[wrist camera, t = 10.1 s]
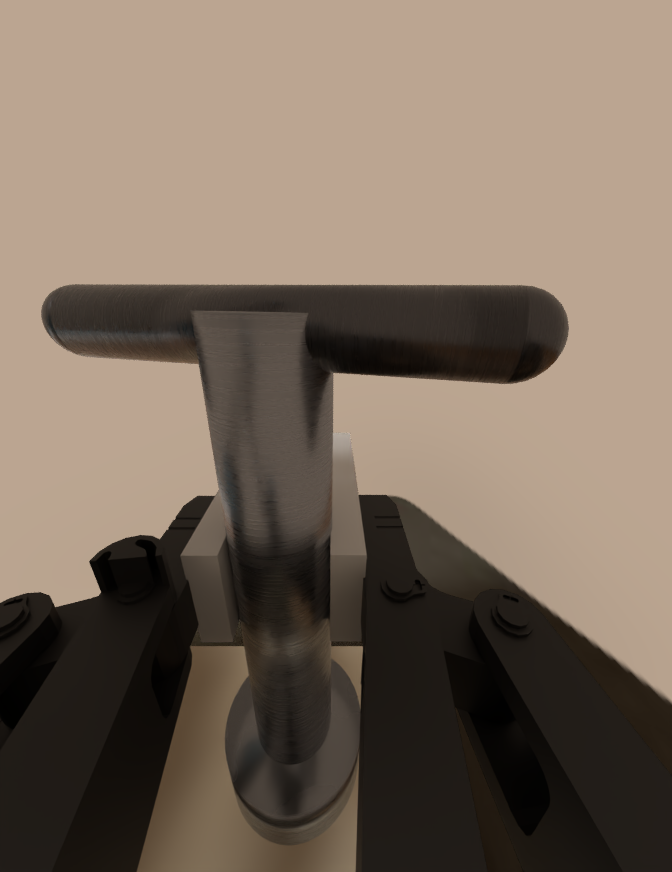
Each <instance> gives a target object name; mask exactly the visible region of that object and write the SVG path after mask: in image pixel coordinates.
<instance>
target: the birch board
mask: <svg viewBox="0 0 672 872" xmlns="http://www.w3.org/2000/svg"><path fill="white" fill-rule="evenodd" d="M190 648H191V652H192V666H191V670H190V673H189V677H188V681H187V685H186V689H185V692H184V696H183V700H182V704H181V707H180V711H179V715H178V719H177V722H176V726H175V730H174V734H173V737H172V741H171V745H170V749H169V752H168V756H167V760H166V764H165V767H164V771H163V775H162V779H161V783H160V786H159V790H158V794H157V798H156V801H155V805H154V809H153V813H152V816H151V820H150V824H149V828H148V831H147V835H146V839H145V843H144V846H143V850H142V854H141V858H140V861H139V865H138V869H137V872H356V841H357V808H358V775H359V761H358V770H357V776H356V780H355V784H354V787H353V790H352V793H351V795H350V798H349V800H348V802H347V804H346V806H345V808H344V809H343V811H342V813H341V814H340V815H339V817H338V818H337V819H336V821H335V822H334V823H333V824H332V825H331V826H330V827H329V828H328V829H327V830H326V831H325V832H323V833H322V834H321V835H319V836H318V837H316V838H314V839H312V840H310V841H308V842H305V843H302V844H298V845H290V846H289V845H279V844H276V843H273V842H270V841H268V840H266V839H264V838H262V837H261V836H260V835H259V834H257V833H256V832H255V831H254V830H253V829H252V828H251V827H250V825H249V824H248V823H247V821H246V820H245V818H244V816H243V815H242V813H241V811H240V808H239V806H238V803H237V800H236V796H235V793H234V789H233V785H232V780H231V776H230V772H229V768H228V764H227V760H226V753H225V730H226V724H227V718H228V715H229V711H230V708H231V705H232V703H233V700H234V698H235V696H236V694H237V692H238V690H239V688H240V687H241V685H242V684H243V682H244V681H245V679H246V678H247V677H248V676H249V674H248V668H247V662H246V655H245V649H244V646H190ZM362 654H363V646H331V659H333V660H334V661H336V662H337V663H338V664H339V665H340V666H341V667H342V668H343V669H344V671H345V672H346V673H347V675H348V676H349V678H350V679H351V681H352V683H353V685H354V688H355V690H356V693H357V696H358V700H359V704H360V709H361V669H362Z"/></svg>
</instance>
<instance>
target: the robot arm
mask: <svg viewBox="0 0 672 872" xmlns="http://www.w3.org/2000/svg"><path fill="white" fill-rule="evenodd" d="M89 562H90V565H91V567H92V570H93V572H94V575H95V577H96V580H97V583H98V585H99V588H100V590H101V594H100V595H99V596H97V597H94V598H91V599H87V600H83V601H79V602H75V603H71V604H67V605H63V606H59V607H55V606H54V604H53V602H52V600H51V598H50V596H49V595H46V594H43V593H41V592H39V593H26V594H23V595H19V596H16V597H13V598H10V599H7V600H6V601H3V602H2V603H0V872H137V869H138V865H139V861H140V858H141V854H142V850H143V846H144V843H145V839H146V835H147V831H148V828H149V824H150V820H151V816H152V813H153V809H154V805H155V801H156V798H157V794H158V790H159V786H160V783H161V779H162V775H163V771H164V767H165V764H166V760H167V756H168V752H169V749H170V745H171V741H172V737H173V734H174V730H175V726H176V722H177V719H178V715H179V711H180V707H181V704H182V700H183V696H184V692H185V689H186V685H187V681H188V677H189V673H190V670H191V666H192V652H191V648H190V645H191V642H192V640H193V637H194V635H195V633H196V630H197V628H198V631H199V635H200V640H201V642H233V640H234V636H235V633H236V629H237V626H238V622H239V619H240V618H239V612H238V605H237V599H236V593H235V587H234V580H233V574H232V568H231V562H230V555H229V549H228V543H227V537H226V530H225V524H224V518H223V512H222V505H221V499H220V493H219V490H218V492H217V494H216V496H197V497H195V498H194V499H193V500H191V501H190V502H189V503H187V504H186V505H184V506H183V508H182V509H181V511H180V512H179V513H178V515H177V516H176V519H175V520H174V521H173V522H172V523H171V525H170V526H169V529H168V530H166V532H165V533H164V535H163V536H162V537H161V539H157V538H155V537H153V536H145V535H139V536H135V537H129V538H125V539H122V540H120V541H117V542H115V543H112V544H111V545H109V546H107V547H106V548H104V549H103V550H101V551H99V553H97V554H96V555H95V556H94V557H93V558H92V559H91V560H90V561H89ZM361 637H362V644H363V654H362V669H361V709H360V742H359V775H358V808H357V841H356V872H488V871H487V866H486V861H485V856H484V851H483V846H482V841H481V836H480V831H479V826H478V821H477V816H476V811H475V806H474V801H473V796H472V791H471V786H470V781H469V776H468V771H467V766H466V761H465V756H464V751H463V746H462V741H461V736H460V731H459V726H458V721H457V716H456V711H455V707H456V708H457V710H458V712H459V715H460V717H461V720H462V722H463V725H464V727H465V729H466V732H467V734H468V737H469V739H470V742H471V744H472V747H473V749H474V752H475V754H476V756H477V759H478V761H479V764H480V766H481V769H482V771H483V774H484V776H485V779H486V781H487V783H488V786H489V788H490V791H491V793H492V796H493V798H494V801H495V803H496V806H497V808H498V810H499V813H500V815H501V818H502V820H503V823H504V825H505V828H506V830H507V833H508V835H509V837H510V840H511V842H512V845H513V847H514V850H515V852H516V855H517V857H518V860H519V862H520V864H521V867H522V869H523V872H672V775H671V774H670V773H669V771H668V770H667V769H666V768H665V766H664V765H663V764H662V763H661V761H660V760H659V759H658V758H657V756H656V755H655V754H654V753H653V751H652V750H651V749H650V748H649V746H648V745H647V744H646V743H645V741H644V740H643V739H642V738H641V736H640V735H639V734H638V733H637V731H636V730H635V729H634V728H633V726H632V725H631V724H630V723H629V721H628V720H627V719H626V718H625V716H624V715H623V714H622V713H621V711H620V710H619V709H618V708H617V706H616V705H615V704H614V703H613V701H612V700H611V699H610V698H609V696H608V695H607V694H606V693H605V691H604V690H603V689H602V688H601V686H600V685H599V684H598V683H597V681H596V680H595V679H594V678H593V676H592V675H591V674H590V673H589V671H588V670H587V669H586V668H585V666H584V665H583V664H582V663H581V661H580V660H579V659H578V658H577V656H576V655H575V654H574V653H573V651H572V650H571V649H570V648H569V646H568V645H567V644H566V643H565V641H564V640H563V639H562V638H561V636H560V635H559V634H558V633H557V631H556V630H555V629H554V628H553V626H552V625H551V624H550V623H549V621H548V620H547V619H546V618H545V616H544V615H543V614H542V613H541V612H540V611H539V610H538V609H537V608H536V607H535V606H534V605H533V604H532V603H530V602H529V601H527V600H526V599H524V598H522V597H521V596H519V595H517V594H514V593H511V592H508V591H506V590H498V589H490V590H486V591H483V592H481V593H480V594H479V595H478V596H477V597H476V599H475V600H474V602H473V601H469V600H466V599H462V598H458V597H455V596H451V595H448V594H446V593H443V592H440V591H439V590H437V589H435V588H433V587H432V586H430V585H429V584H428V582H427V580H426V579H425V578H424V577H423V576H422V575H421V574H420V573H419V572H418V571H417V569H416V567H415V563H414V560H413V557H412V554H411V551H410V547H409V544H408V541H407V538H406V535H405V532H404V529H403V525H402V522H401V519H400V516H399V512H398V509H397V506H396V504H395V503H394V502H393V501H392V500H391V499H390V498H389V497H388V496H387V495H358V488H357V481H356V473H355V467H354V459H353V452H352V445H351V437H350V433H333V486H332V531H331V534H330V642H346V641H361Z"/></svg>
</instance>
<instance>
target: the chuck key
mask: <svg viewBox="0 0 672 872" xmlns="http://www.w3.org/2000/svg"><path fill="white" fill-rule="evenodd" d="M41 313H42V314H41V315H42V321H43V324H44V327H45V329H46V331H47V332H48V334H49V335H50V336H51V338H52V339H53V340H54V341H55V342H56V343H57V344H59V345H60V346H61V347H63V348H64V349H66V350H68V351H70V352H72V353H75V354H78V355H81V356H87V357H98V358H115V359H129V360H144V361H160V362H175V363H191V364H199V367H200V374H201V380H202V386H203V393H204V399H205V405H206V411H207V418H208V424H209V430H210V437H211V443H212V449H213V455H214V461H215V468H216V474H217V480H218V487H219V493H220V499H221V505H222V512H223V518H224V524H225V530H226V537H227V543H228V549H229V555H230V562H231V568H232V574H233V580H234V587H235V593H236V599H237V605H238V612H239V618H240V624H241V630H242V637H243V643H244V649H245V655H246V662H247V668H248V674H249V676H248V677H247V678H246V679H245V681H244V682H243V684H242V685H241V687H240V688H239V690H238V692H237V694H236V696H235V698H234V700H233V703H232V705H231V708H230V711H229V715H228V718H227V724H226V730H225V753H226V760H227V764H228V768H229V772H230V776H231V780H232V785H233V789H234V793H235V796H236V800H237V803H238V806H239V808H240V811H241V813H242V815H243V816H244V818H245V820H246V821H247V823H248V824H249V825H250V827H251V828H252V829H253V830H254V831H255V832H256V833H257V834H259V835H260V836H261V837H262V838H264V839H266V840H268V841H270V842H273V843H276V844H279V845H289V846H290V845H298V844H302V843H305V842H308V841H310V840H312V839H314V838H316V837H318V836H319V835H321V834H322V833H323V832H325V831H326V830H327V829H328V828H329V827H330V826H331V825H332V824H333V823H334V822H335V821H336V819H337V818H338V817H339V815H340V814H341V813H342V811H343V809H344V808H345V806H346V804H347V802H348V800H349V798H350V795H351V793H352V790H353V787H354V784H355V780H356V776H357V770H358V761H359V742H360V704H359V700H358V696H357V693H356V690H355V688H354V685H353V683H352V681H351V679H350V678H349V676H348V675H347V673H346V672H345V671H344V669H343V668H342V667H341V666H340V665H339V664H338V663H337V662H336V661H334V660H333V659H331V642H330V534H331V531H332V486H333V373H346V374H361V375H376V376H391V377H406V378H422V379H437V380H453V381H469V382H484V383H499V384H513V383H518V382H523V381H526V380H529V379H532V378H534V377H536V376H537V375H539V374H541V373H542V372H544V371H545V370H547V369H548V368H549V367H550V366H551V365H552V364H553V363H554V362H555V361H556V360H557V358H558V357H559V355H560V354H561V352H562V351H563V349H564V347H565V344H566V341H567V337H568V330H569V327H568V319H567V315H566V312H565V310H564V308H563V306H562V304H561V303H560V302H559V301H558V300H557V299H556V298H555V297H554V296H553V295H551V294H550V293H549V292H547V291H545V290H542V289H539V288H536V287H533V286H522V285H519V286H518V285H511V286H510V285H509V286H507V285H67V286H63V287H60V288H58V289H56V290H55V291H53V292H51V293H50V294H49V295H48V297H47V298H46V299H45V301H44V303H43V306H42V311H41Z"/></svg>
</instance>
